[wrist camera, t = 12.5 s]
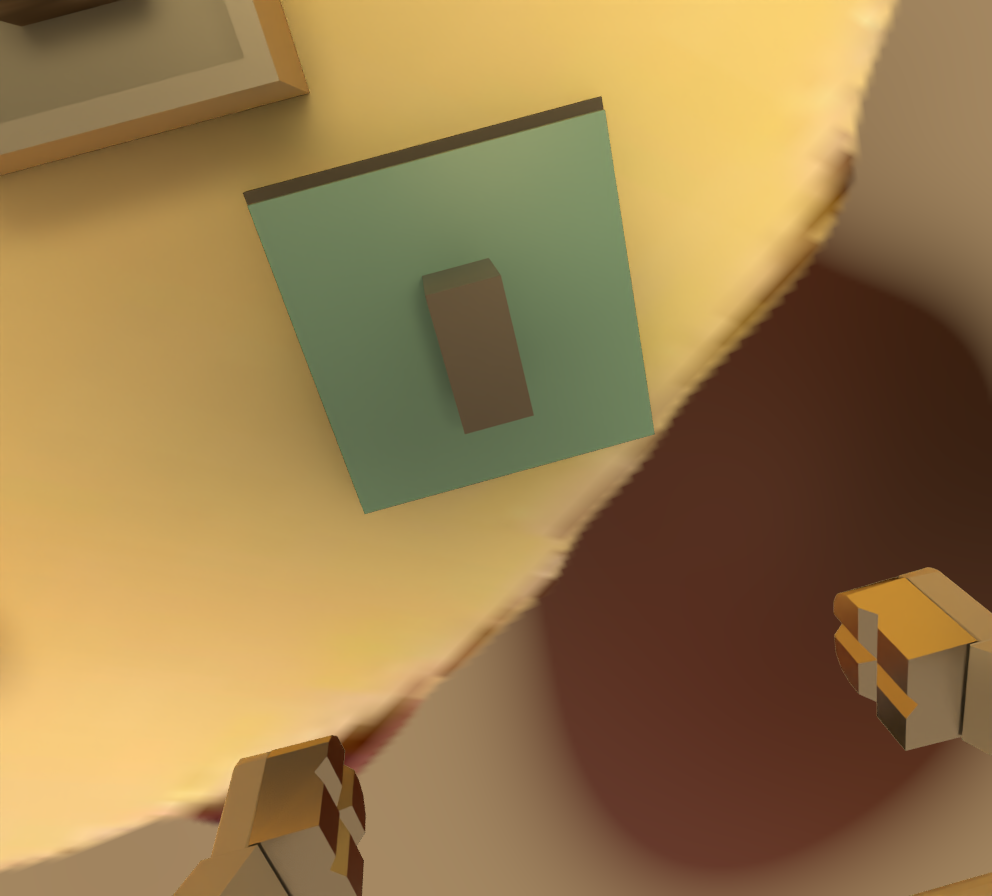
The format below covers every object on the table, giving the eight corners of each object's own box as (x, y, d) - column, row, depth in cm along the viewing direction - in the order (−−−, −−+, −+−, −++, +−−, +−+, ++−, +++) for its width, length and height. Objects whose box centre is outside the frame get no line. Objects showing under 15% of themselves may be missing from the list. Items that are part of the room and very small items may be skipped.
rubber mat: (361, 500, 37) (361, 504, 37) (244, 192, 30) (242, 192, 30) (649, 421, 37) (652, 424, 37) (599, 96, 30) (601, 96, 30)
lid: (366, 493, 36) (360, 558, 31) (257, 201, 30) (224, 216, 24) (640, 417, 37) (684, 469, 31) (591, 111, 30) (634, 106, 25)
